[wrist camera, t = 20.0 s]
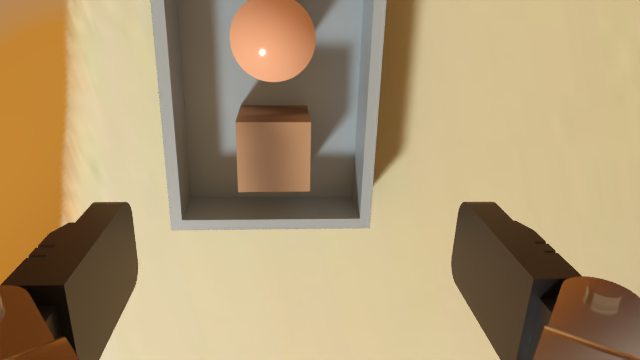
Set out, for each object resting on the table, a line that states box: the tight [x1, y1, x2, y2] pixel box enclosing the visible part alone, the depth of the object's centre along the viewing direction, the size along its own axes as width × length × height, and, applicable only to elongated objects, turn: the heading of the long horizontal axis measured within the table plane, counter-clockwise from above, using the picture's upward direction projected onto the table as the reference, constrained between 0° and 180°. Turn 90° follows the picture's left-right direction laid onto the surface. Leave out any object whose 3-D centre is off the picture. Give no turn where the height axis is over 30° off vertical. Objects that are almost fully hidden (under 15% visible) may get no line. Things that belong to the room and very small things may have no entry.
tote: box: [151, 0, 387, 230], centre depth 35 cm, size 15×20×5 cm
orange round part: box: [230, 0, 316, 82], centre depth 32 cm, size 5×5×7 cm
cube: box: [235, 105, 311, 192], centre depth 36 cm, size 5×5×5 cm
